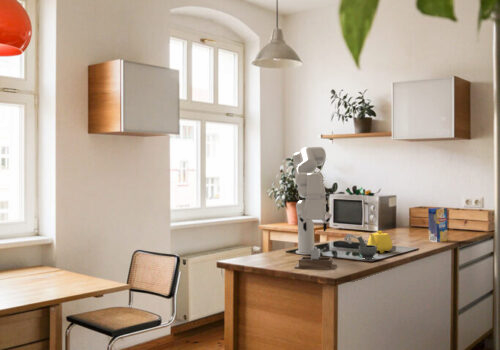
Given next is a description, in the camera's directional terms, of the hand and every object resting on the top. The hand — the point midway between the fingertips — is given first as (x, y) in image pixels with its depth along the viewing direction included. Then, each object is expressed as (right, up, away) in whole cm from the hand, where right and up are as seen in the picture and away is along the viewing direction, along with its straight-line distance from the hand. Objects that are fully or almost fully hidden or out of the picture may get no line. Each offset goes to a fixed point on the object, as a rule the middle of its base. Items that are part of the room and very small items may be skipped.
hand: (315, 231), depth 263 cm
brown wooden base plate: (0, -18, 0) cm, 18 cm away
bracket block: (0, -17, 0) cm, 17 cm away
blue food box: (+93, -16, +85) cm, 127 cm away
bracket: (+39, -17, +75) cm, 86 cm away
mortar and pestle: (+31, -18, +20) cm, 41 cm away
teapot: (+44, -17, +43) cm, 64 cm away
